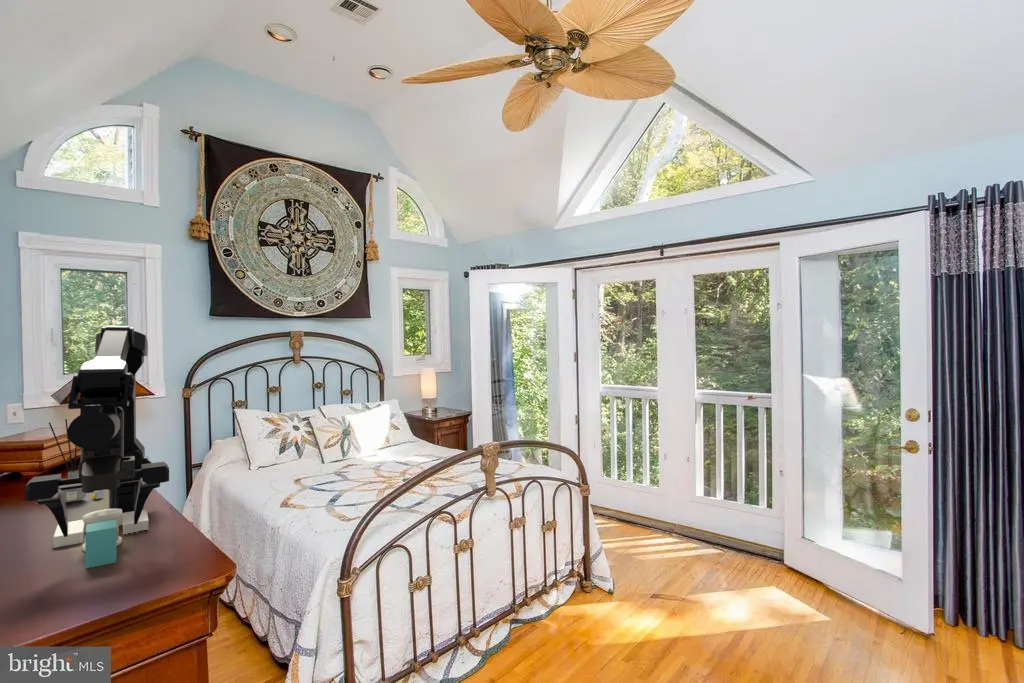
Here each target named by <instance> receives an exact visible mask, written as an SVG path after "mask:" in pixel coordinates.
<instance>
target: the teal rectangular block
mask: <svg viewBox="0 0 1024 683" xmlns="http://www.w3.org/2000/svg"><path fill="white" fill-rule="evenodd" d="M116 538H117V519H115V520H110V521H104V522H98V523H92V524H87V528H86V532H85V543H86V549H85V552H84V553H85V557H84V559H85V560H84V561H85V564H84V566H85V567H84V569H85V568H87V569H89V568H88V567H91V568H95V566H96V567H100V566H99V565H101V566H104V564H105V565H108V564H109V563H110V564H114V563H113V562H115V563H117V546H116Z"/></svg>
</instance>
